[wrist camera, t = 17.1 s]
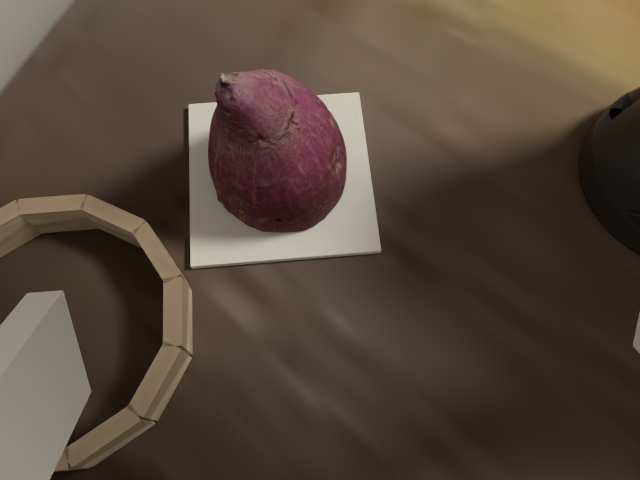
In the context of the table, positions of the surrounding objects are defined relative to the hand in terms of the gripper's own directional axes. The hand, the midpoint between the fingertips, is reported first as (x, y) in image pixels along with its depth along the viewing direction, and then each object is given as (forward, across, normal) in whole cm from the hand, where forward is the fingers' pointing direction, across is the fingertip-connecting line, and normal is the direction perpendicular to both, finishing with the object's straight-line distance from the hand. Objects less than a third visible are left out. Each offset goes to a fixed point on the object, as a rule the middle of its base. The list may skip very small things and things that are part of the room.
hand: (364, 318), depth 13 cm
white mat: (+31, -2, -6) cm, 32 cm away
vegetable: (+31, -2, -6) cm, 32 cm away
